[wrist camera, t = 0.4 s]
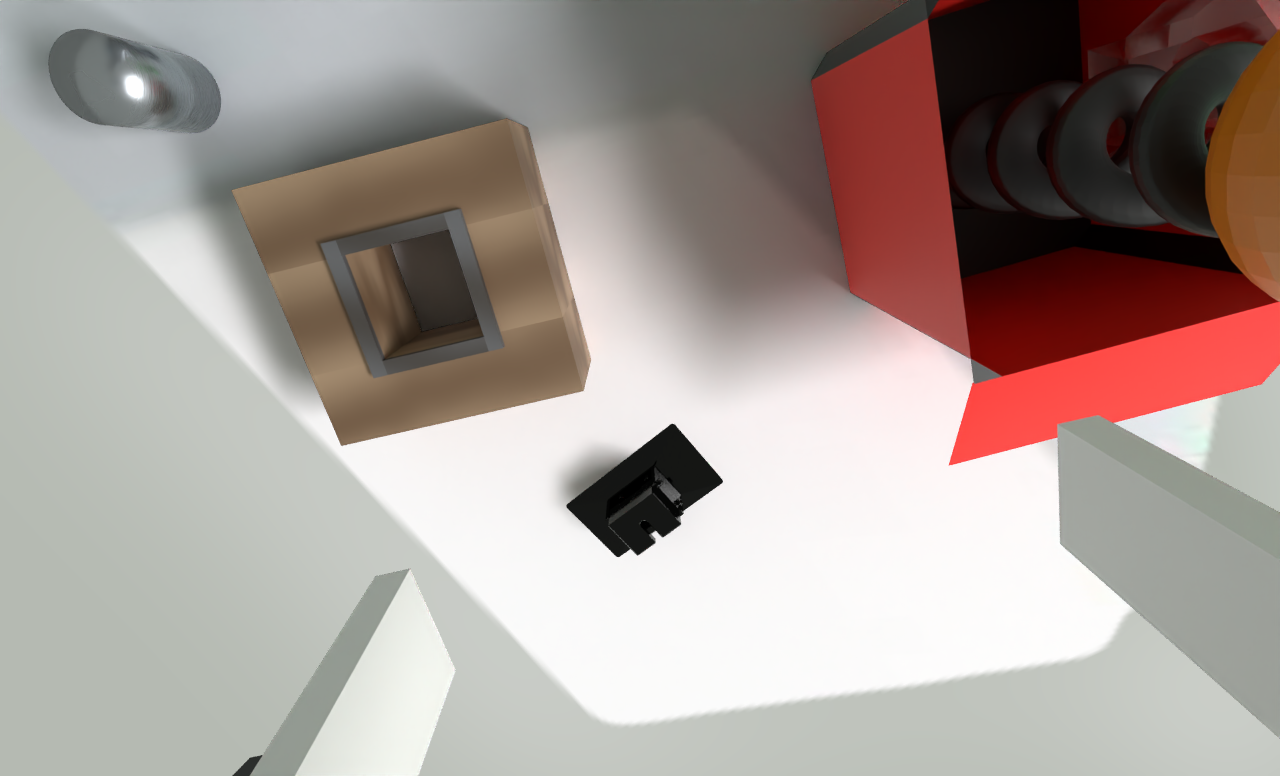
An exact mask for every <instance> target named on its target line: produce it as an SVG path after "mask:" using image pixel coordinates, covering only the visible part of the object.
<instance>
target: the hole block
mask: <svg viewBox="0 0 1280 776" xmlns="http://www.w3.org/2000/svg"><path fill="white" fill-rule="evenodd" d="M231 191H232V193H233V195H234V198H235V200H236V202H237V205H238V207H239V209H240V211H241V214H242V216H243V218H244V221H245V223H246V225H247V228H248V230H249V232H250V235H251V237H252V239H253V242H254V244H255V246H256V249H257V251H258V253H259V256H260V258H261V260H262V263H263V265H264V267H265V270H266V272H267V274H268V277H269V279H270V281H271V284H272V286H273V288H274V290H275V293H276V295H277V297H278V300H279V302H280V304H281V307H282V309H283V311H284V314H285V316H286V318H287V321H288V323H289V325H290V328H291V330H292V332H293V335H294V337H295V339H296V342H297V344H298V346H299V349H300V351H301V353H302V356H303V358H304V360H305V363H306V365H307V367H308V369H309V372H310V374H311V376H312V379H313V381H314V383H315V386H316V388H317V390H318V393H319V395H320V397H321V400H322V402H323V404H324V407H325V409H326V411H327V414H328V416H329V418H330V421H331V423H332V425H333V428H334V430H335V432H336V435H337V437H338V439H339V442H340V444H341V446H343V445H347V444H352V443H356V442H361V441H365V440H369V439H374V438H378V437H383V436H387V435H391V434H396V433H400V432H405V431H409V430H413V429H418V428H422V427H427V426H431V425H436V424H440V423H444V422H449V421H453V420H458V419H462V418H466V417H471V416H475V415H480V414H484V413H488V412H493V411H497V410H502V409H506V408H510V407H515V406H519V405H524V404H528V403H533V402H537V401H541V400H546V399H550V398H555V397H559V396H563V395H568V394H572V393H577V392H581V391H584V387H585V383H586V379H587V374H588V370H589V366H590V362H591V358H590V354H589V350H588V347H587V343H586V339H585V336H584V332H583V329H582V325H581V321H580V318H579V314H578V310H577V307H576V303H575V299H574V296H573V292H572V288H571V285H570V281H569V277H568V274H567V270H566V266H565V263H564V259H563V255H562V252H561V248H560V244H559V241H558V237H557V233H556V230H555V226H554V222H553V219H552V215H551V211H550V208H549V204H548V200H547V197H546V193H545V189H544V186H543V182H542V178H541V175H540V171H539V167H538V164H537V160H536V156H535V153H534V149H533V145H532V142H531V138H530V134H529V131H528V127H525V126H523V125H521V124H518V123H516V122H514V121H511V120H509V119H507V118H506V119H503V120H499V121H495V122H491V123H487V124H483V125H480V126H476V127H472V128H468V129H464V130H460V131H456V132H453V133H449V134H445V135H441V136H437V137H433V138H430V139H426V140H422V141H418V142H414V143H410V144H407V145H403V146H399V147H395V148H391V149H387V150H383V151H380V152H376V153H372V154H368V155H364V156H360V157H357V158H353V159H349V160H345V161H341V162H337V163H333V164H330V165H326V166H322V167H318V168H314V169H310V170H307V171H303V172H299V173H295V174H291V175H287V176H284V177H280V178H276V179H272V180H268V181H264V182H260V183H257V184H253V185H249V186H245V187H241V188H237V189H234V190H231ZM448 229H449V232H450V235H451V238H452V241H453V244H454V247H455V250H456V253H457V256H458V259H459V262H460V265H461V268H462V271H463V274H464V277H465V281H466V284H467V287H468V290H469V293H470V296H471V299H472V302H473V305H474V308H475V311H476V314H477V317H478V319H474V320H470V321H465V322H461V323H457V324H453V325H449V326H444V327H440V328H436V329H432V330H428V331H423V332H422V331H421V328H420V325H419V322H418V320H417V317H416V314H415V311H414V308H413V306H412V303H411V300H410V297H409V295H408V292H407V289H406V286H405V284H404V281H403V278H402V275H401V272H400V270H399V267H398V264H397V261H396V259H395V256H394V253H393V250H392V247H391V245H390V244H392V243H396V242H400V241H404V240H408V239H412V238H416V237H420V236H424V235H428V234H432V233H436V232H440V231H444V230H448Z"/></svg>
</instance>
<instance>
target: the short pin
mask: <svg viewBox="0 0 1280 776" xmlns="http://www.w3.org/2000/svg"><path fill="white" fill-rule="evenodd" d="M49 73H50V77H51V81H52V84H53V86H54V88H55V90H56V92H57V94H58V95H59V97H60V98H61V100H62V101H63V102H64V103H65V105H66V106H67V107H68V108H69V109H70V110H71V111H73V112H74V113H75V114H76V115H78V116H79V117H81V118H83V119H85V120H87V121H89V122H92V123H95V124H99V125H110V126H120V127H131V128H142V129H152V130H163V131H174V132H185V133H198V132H202V131H205V130H206V129H208V128H209V127H211V126H212V125H213V124H214V123H215V121H216V120H217V118H218V116H219V112H220V108H221V97H220V92H219V89H218V86H217V83H216V81H215V79H214V78H213V76H212V75H211V73H210V72H209V71H208V70H207V69H206V68H205V66H203V65H202V64H201V63H200V62H198V61H197V60H195V59H193V58H191V57H189V56H186V55H183V54H179V53H175V52H172V51H168V50H164V49H160V48H157V47H153V46H149V45H145V44H141V43H138V42H134V41H130V40H126V39H123V38H119V37H115V36H111V35H108V34H104V33H100V32H96V31H92V30H87V29H76V30H71V31H69V32H66V33H64V34H63V35H61V36H60V37H59V38H58V39H57V40H56V42H55V43H54V45H53V46H52V49H51V51H50V56H49Z"/></svg>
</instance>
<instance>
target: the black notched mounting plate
mask: <svg viewBox="0 0 1280 776" xmlns="http://www.w3.org/2000/svg"><path fill="white" fill-rule="evenodd" d="M722 482H723V480H722V479H721V478H720V476H719V475H718V474H717V473H716V472H715V471H714V469H713V468H712V467H711V466H710V465H709V464H708V462H707V461H706V460H705V459H704V458H703V457H702V456H701V454H700V453H699V452H698V451H697V450H696V449H695V447H694V446H693V445H692V444H691V443H690V442H689V440H688V439H687V438H686V437H685V436H684V435H683V434H682V432H681V431H680V430H679V429H678V428H677V427H676V425H675V424H671V425H669V426H668V427H667V428H665V429H664V430H663V431H662V432H660V433H659V434H658V435H656V436H655V437H654V438H653V439H651V440H650V441H649V442H647V443H646V444H645V445H643V446H642V447H641V448H640V449H638V450H637V451H636V452H634V453H633V454H632V455H630V456H629V457H628V458H627V459H625V460H624V461H623V462H621V463H620V464H619V465H618V466H616V467H615V468H614V469H612V470H611V471H610V472H608V473H607V474H606V475H605V476H603V477H602V478H601V479H599V480H598V481H597V482H596V483H594V484H593V485H592V486H590V487H589V488H588V489H586V490H585V491H584V492H583V493H581V494H580V495H579V496H577V497H576V498H575V499H573V500H572V501H571V502H570V503H568V504H567V508H568V509H569V510H570V511H571V512H572V513H573V514H574V515H575V516H576V517H577V518H578V519H579V520H580V521H581V522H582V523H583V524H584V525H585V526H586V527H587V528H588V529H589V530H590V531H591V532H592V533H593V534H594V535H595V536H596V537H597V538H598V539H599V540H600V541H601V542H602V543H603V544H604V545H605V546H606V547H607V548H608V549H609V550H610V551H611V552H612V553H613V554H614V555H615V556H617V557H620V556H621V555H623V554H624V553H626V552H627V551H628V550H630V549H631V550H632V551H633V552H634V553H635V554H636V555H637V556H638V555H639V554H641V553H642V552H644V551H645V550H646V549H648V548H649V547H651V546H652V545H653V544H655V542H656V541H655V538H654V537H653V536H652V535H651V534H652V533H653V532H655V531H657V532H658V533H659V535H660V536H661V537H665V536H666V535H667V534H669V533H670V532H671V531H673V530H674V529H676V528H677V527H678V526H680V525H681V519H680V516H682V515H683V514H684V512H683V511H684V510H685V509H687V508H688V507H690V506H691V505H692V504H694V503H695V502H697V501H698V500H699V499H701V498H702V497H703V496H705V495H706V494H708V493H709V492H710V491H712V490H713V489H715V488H716V487H717V486H719V485H720V484H722Z"/></svg>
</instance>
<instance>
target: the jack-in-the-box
mask: <svg viewBox="0 0 1280 776" xmlns="http://www.w3.org/2000/svg"><path fill="white" fill-rule="evenodd" d="M811 84H812V89H813V95H814V100H815V105H816V111H817V116H818V121H819V127H820V132H821V137H822V143H823V148H824V153H825V159H826V164H827V170H828V175H829V180H830V186H831V191H832V196H833V202H834V207H835V212H836V218H837V223H838V229H839V234H840V239H841V245H842V250H843V255H844V261H845V266H846V271H847V277H848V282H849V287H850V292H851V293H852V294H854V295H856V296H858V297H859V298H861V299H863V300H865V301H866V302H868V303H870V304H872V305H873V306H875V307H877V308H879V309H881V310H882V311H884V312H886V313H888V314H890V315H891V316H893V317H895V318H897V319H899V320H901V321H902V322H904V323H906V324H908V325H910V326H911V327H913V328H915V329H917V330H919V331H920V332H922V333H924V334H926V335H928V336H930V337H931V338H933V339H935V340H937V341H939V342H940V343H942V344H944V345H946V346H948V347H949V348H951V349H953V350H955V351H957V352H959V353H960V354H962V355H964V356H966V357H968V358H969V359H971V364H972V372H973V379H974V383H973V384H972V387H971V391H970V394H969V397H968V401H967V404H966V408H965V411H964V415H963V418H962V421H961V425H960V428H959V432H958V435H957V439H956V442H955V446H954V449H953V452H952V456H951V459H950V463H949V465H953V464H957V463H961V462H965V461H968V460H972V459H976V458H980V457H984V456H988V455H991V454H995V453H999V452H1003V451H1007V450H1011V449H1015V448H1018V447H1022V446H1026V445H1030V444H1034V443H1038V442H1041V441H1045V440H1049V439H1053V438H1057V437H1058V434H1057V424H1060V423H1065V422H1069V421H1074V420H1078V419H1083V418H1087V417H1092V416H1096V415H1099V416H1101V417H1103V418H1105V419H1107V420H1108V421H1110V422H1112V423H1115V422H1118V421H1122V420H1126V419H1130V418H1134V417H1138V416H1141V415H1145V414H1149V413H1153V412H1157V411H1161V410H1165V409H1168V408H1172V407H1176V406H1180V405H1184V404H1188V403H1191V402H1195V401H1199V400H1203V399H1207V398H1211V397H1215V396H1218V395H1222V394H1226V393H1230V392H1234V391H1238V390H1241V389H1245V388H1249V387H1253V386H1257V385H1261V384H1262V383H1263V382H1264V381H1265V380H1266V379H1267V378H1268V376H1269V375H1270V374H1271V373H1272V372H1273V371H1274V370H1275V369H1276V367H1277V366H1278V365H1279V364H1280V0H909V1H908V2H906V3H905V4H903V5H901V6H900V7H898V8H897V9H895V10H893V11H892V12H890V13H889V14H887V15H886V16H884V17H882V18H881V19H879V20H878V21H876V22H875V23H873V24H871V25H870V26H868V27H867V28H865V29H864V30H862V31H860V32H859V33H857V34H856V35H854V36H852V37H851V38H849V39H848V40H846V41H845V42H843V43H841V44H840V45H838V46H837V47H835V48H834V49H832V50H830V51H829V52H827V53H826V55H825V57H824V59H823V60H822V62H821V64H820V66H819V67H818V69H817V71H816V73H815V75H814V76H813V78H812V80H811Z"/></svg>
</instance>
